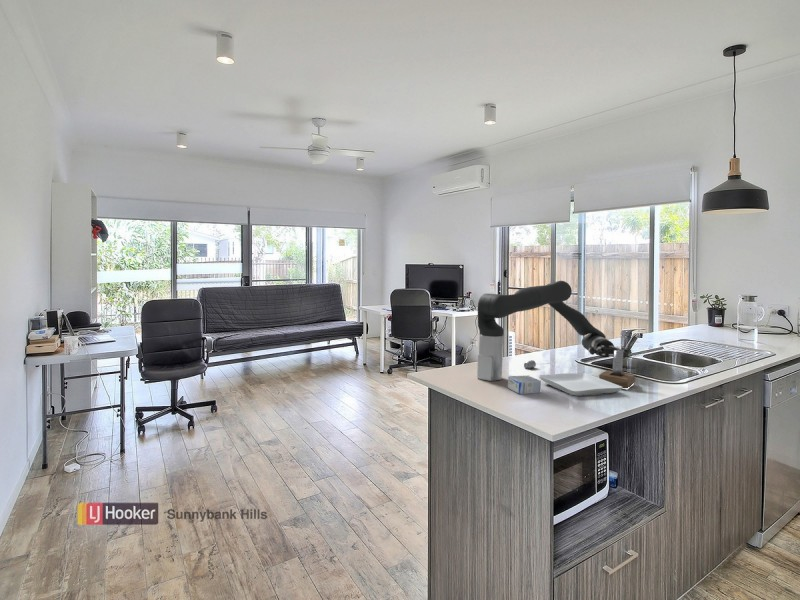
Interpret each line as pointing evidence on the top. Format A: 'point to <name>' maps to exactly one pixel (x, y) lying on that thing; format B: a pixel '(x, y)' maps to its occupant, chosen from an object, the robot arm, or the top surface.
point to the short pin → (529, 364)
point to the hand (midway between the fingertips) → (612, 354)
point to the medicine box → (524, 384)
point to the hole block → (618, 378)
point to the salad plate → (580, 383)
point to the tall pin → (617, 363)
